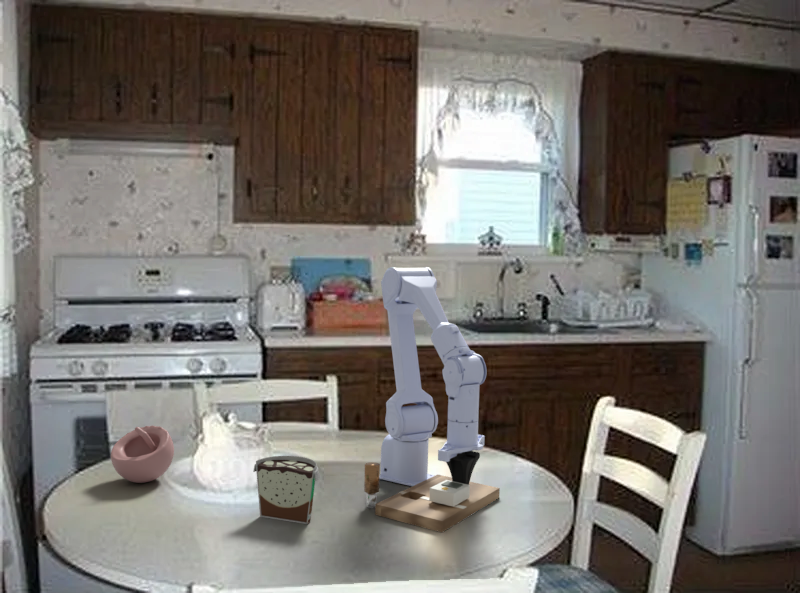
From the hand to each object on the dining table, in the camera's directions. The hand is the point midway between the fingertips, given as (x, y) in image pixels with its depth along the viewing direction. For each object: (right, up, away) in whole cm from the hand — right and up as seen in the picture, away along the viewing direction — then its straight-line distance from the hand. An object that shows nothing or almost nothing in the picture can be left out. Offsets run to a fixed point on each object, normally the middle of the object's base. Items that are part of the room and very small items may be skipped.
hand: (460, 490), depth 145 cm
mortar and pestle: (-63, -1, +10) cm, 64 cm away
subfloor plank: (-4, -3, 0) cm, 5 cm away
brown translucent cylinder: (-17, -3, -1) cm, 17 cm away
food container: (-31, -3, -7) cm, 32 cm away
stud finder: (-2, -1, -3) cm, 4 cm away
